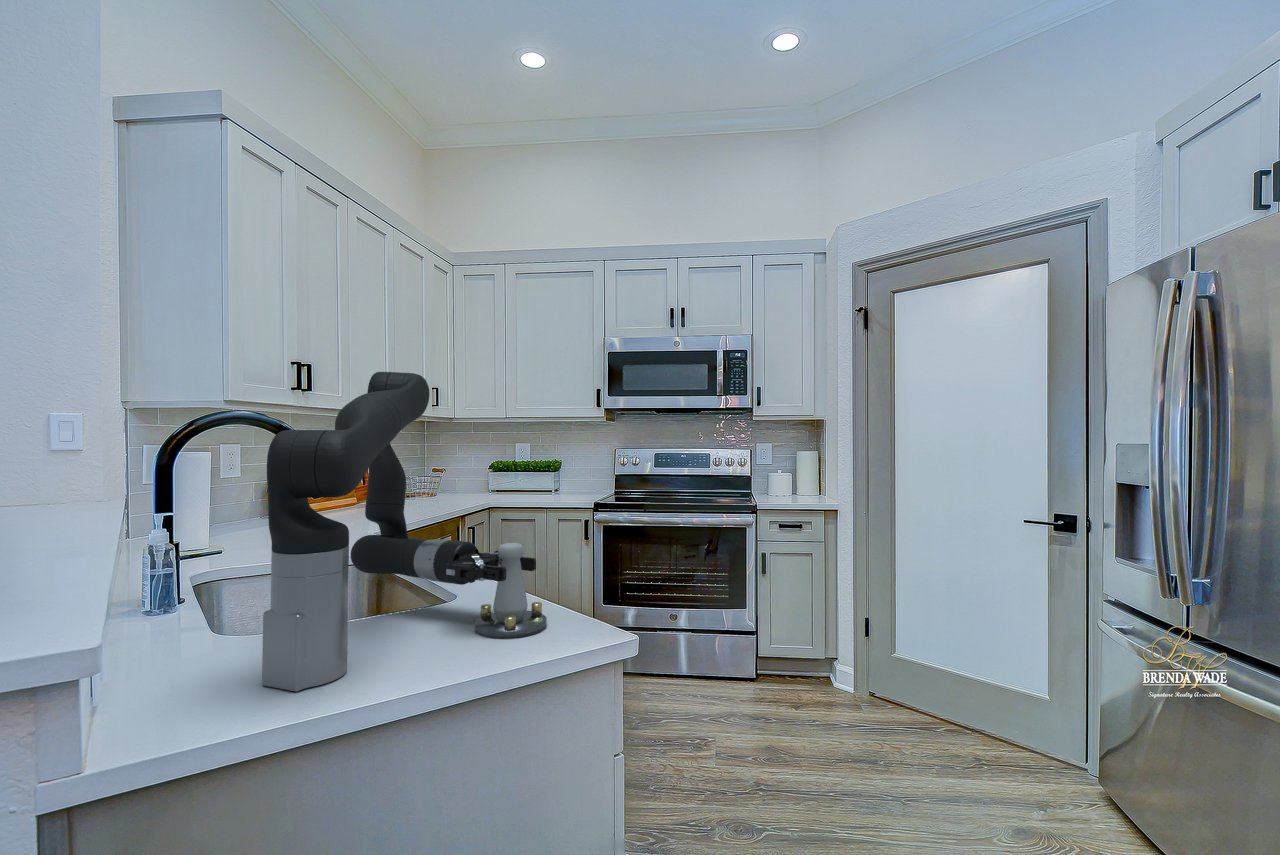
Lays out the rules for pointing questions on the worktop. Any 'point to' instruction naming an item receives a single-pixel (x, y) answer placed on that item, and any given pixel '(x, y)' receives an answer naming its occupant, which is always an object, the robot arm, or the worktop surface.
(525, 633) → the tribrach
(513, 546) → the salt shaker
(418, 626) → the worktop surface
